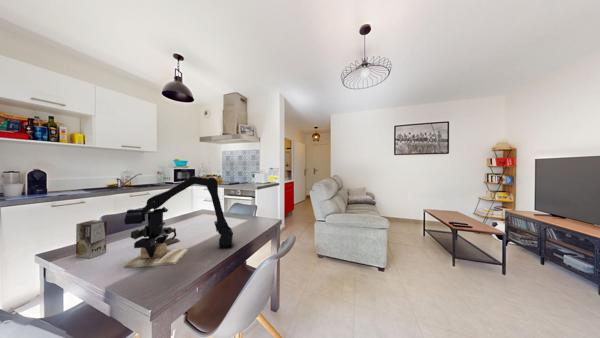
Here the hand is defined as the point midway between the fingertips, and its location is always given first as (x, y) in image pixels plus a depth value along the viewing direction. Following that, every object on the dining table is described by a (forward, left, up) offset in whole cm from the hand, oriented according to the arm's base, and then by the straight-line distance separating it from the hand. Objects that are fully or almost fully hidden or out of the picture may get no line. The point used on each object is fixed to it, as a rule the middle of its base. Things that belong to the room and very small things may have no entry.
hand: (155, 254), depth 84 cm
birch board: (-2, 0, -2) cm, 3 cm away
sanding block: (+1, 0, -1) cm, 1 cm away
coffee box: (+33, -9, -2) cm, 34 cm away
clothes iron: (+4, -17, -2) cm, 18 cm away
